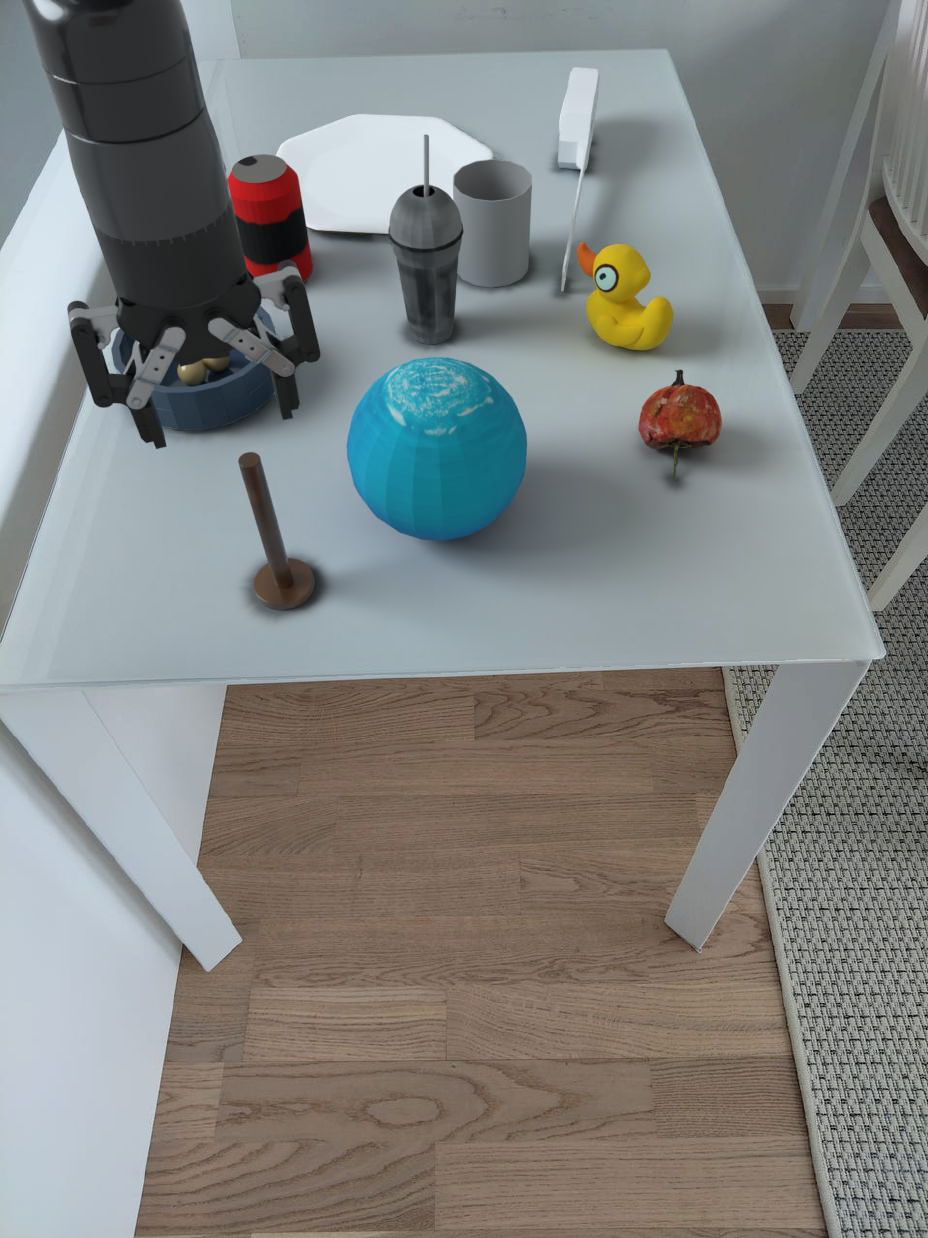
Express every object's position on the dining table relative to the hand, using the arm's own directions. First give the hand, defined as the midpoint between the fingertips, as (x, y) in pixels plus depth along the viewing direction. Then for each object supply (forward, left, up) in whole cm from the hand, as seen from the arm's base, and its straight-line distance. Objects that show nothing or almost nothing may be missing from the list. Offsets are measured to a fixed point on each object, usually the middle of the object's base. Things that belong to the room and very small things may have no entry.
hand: (223, 425), depth 62 cm
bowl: (-1, +29, -19) cm, 34 cm away
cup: (+33, +38, -19) cm, 54 cm away
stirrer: (+1, 0, -19) cm, 19 cm away
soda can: (+10, +45, -19) cm, 50 cm away
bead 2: (+1, +30, -17) cm, 34 cm away
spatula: (+46, +48, -19) cm, 69 cm away
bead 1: (-2, +28, -17) cm, 33 cm away
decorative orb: (+16, +4, -19) cm, 25 cm away
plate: (+26, +60, -19) cm, 68 cm away
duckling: (+41, +21, -19) cm, 50 cm away
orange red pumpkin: (+39, +4, -19) cm, 44 cm away
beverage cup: (+23, +29, -19) cm, 42 cm away
